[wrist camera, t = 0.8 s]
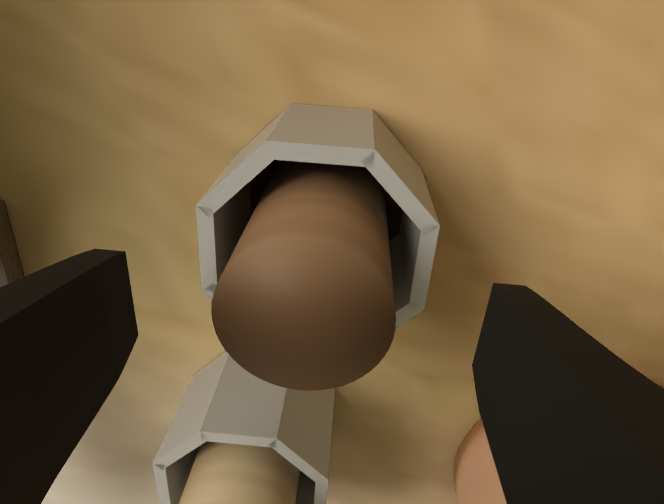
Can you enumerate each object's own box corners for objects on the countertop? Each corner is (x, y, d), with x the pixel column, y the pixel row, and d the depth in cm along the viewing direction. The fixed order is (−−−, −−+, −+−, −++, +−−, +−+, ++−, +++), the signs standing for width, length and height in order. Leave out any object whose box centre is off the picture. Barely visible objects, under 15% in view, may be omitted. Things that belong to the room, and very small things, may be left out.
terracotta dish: (654, 553, 22) (669, 580, 21) (435, 531, 23) (439, 558, 22) (758, 389, 18) (782, 414, 17) (480, 364, 18) (487, 387, 17)
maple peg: (306, 439, 20) (283, 614, 15) (220, 431, 20) (164, 602, 15) (310, 373, 19) (286, 542, 13) (216, 365, 19) (151, 529, 13)
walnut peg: (378, 253, 16) (385, 398, 10) (268, 244, 16) (216, 382, 10) (391, 145, 14) (407, 247, 9) (269, 136, 14) (206, 230, 9)
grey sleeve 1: (404, 282, 17) (415, 361, 13) (239, 268, 17) (205, 342, 13) (430, 114, 14) (452, 155, 10) (234, 98, 14) (190, 134, 10)
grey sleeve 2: (328, 459, 21) (321, 554, 17) (198, 447, 21) (164, 539, 17) (338, 355, 18) (331, 443, 15) (188, 342, 18) (146, 426, 15)
